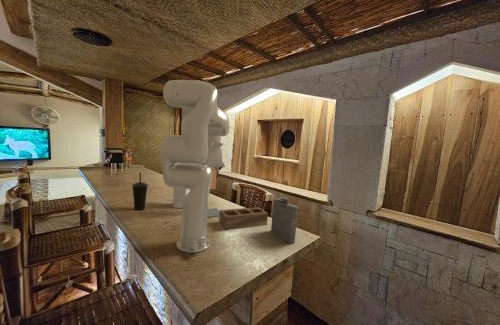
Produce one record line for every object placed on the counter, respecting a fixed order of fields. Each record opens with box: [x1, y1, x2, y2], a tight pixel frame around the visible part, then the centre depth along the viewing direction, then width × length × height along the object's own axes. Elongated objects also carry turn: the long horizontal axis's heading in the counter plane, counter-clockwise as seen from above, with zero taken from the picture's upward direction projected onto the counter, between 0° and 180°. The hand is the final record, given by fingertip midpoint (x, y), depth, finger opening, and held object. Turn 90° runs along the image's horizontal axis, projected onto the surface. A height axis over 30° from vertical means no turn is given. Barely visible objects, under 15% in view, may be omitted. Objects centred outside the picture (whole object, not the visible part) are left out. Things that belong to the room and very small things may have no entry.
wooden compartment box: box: [218, 206, 269, 231], centre depth 110 cm, size 10×22×6 cm, turn 117°
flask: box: [270, 196, 299, 245], centre depth 98 cm, size 4×14×18 cm, turn 34°
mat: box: [207, 207, 220, 219], centre depth 121 cm, size 12×12×1 cm
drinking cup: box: [131, 172, 149, 212], centre depth 118 cm, size 8×8×20 cm
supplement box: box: [172, 188, 190, 209], centre depth 129 cm, size 7×7×13 cm
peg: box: [210, 168, 217, 190], centre depth 119 cm, size 4×4×10 cm
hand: (211, 178), depth 119 cm, fingers closed on peg, 4 cm apart
